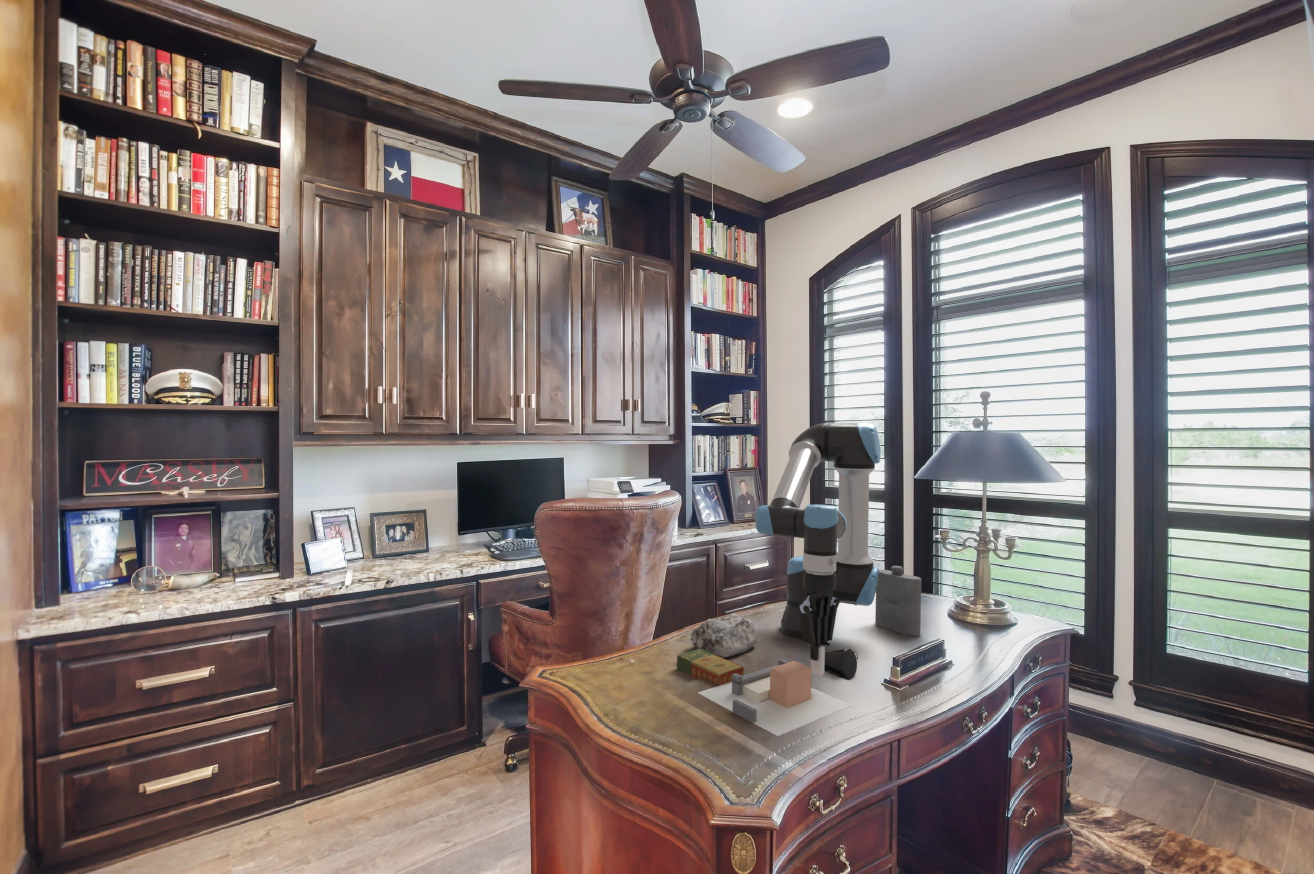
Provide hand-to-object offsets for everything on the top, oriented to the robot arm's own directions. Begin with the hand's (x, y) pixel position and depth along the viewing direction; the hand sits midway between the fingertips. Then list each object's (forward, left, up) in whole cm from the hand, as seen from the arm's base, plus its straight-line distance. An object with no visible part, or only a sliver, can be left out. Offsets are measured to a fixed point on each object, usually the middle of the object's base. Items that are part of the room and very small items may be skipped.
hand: (817, 672), depth 138 cm
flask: (-17, +61, -5) cm, 63 cm away
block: (0, -9, -4) cm, 10 cm away
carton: (-23, -13, -6) cm, 27 cm away
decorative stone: (-34, +5, -6) cm, 35 cm away
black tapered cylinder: (-6, +20, -6) cm, 21 cm away
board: (-3, -12, -5) cm, 14 cm away
